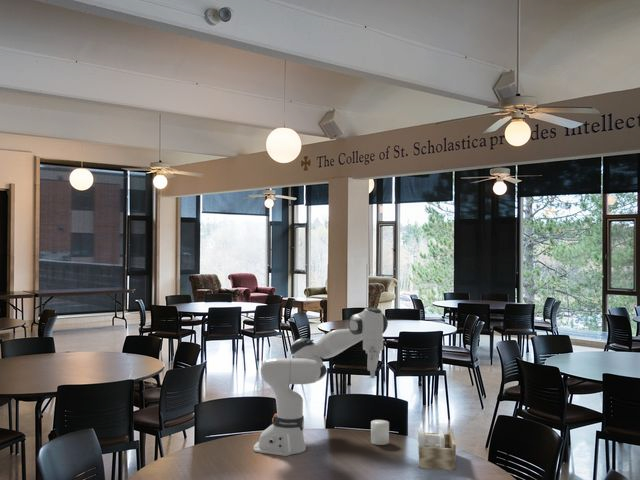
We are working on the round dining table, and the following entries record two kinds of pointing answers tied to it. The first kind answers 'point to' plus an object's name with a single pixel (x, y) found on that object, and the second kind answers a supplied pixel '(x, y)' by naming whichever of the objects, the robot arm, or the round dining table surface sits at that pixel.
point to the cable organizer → (431, 439)
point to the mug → (379, 432)
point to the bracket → (439, 454)
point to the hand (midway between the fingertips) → (372, 377)
